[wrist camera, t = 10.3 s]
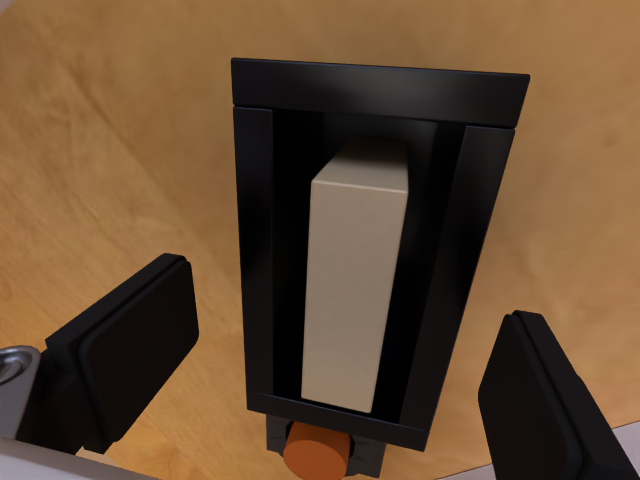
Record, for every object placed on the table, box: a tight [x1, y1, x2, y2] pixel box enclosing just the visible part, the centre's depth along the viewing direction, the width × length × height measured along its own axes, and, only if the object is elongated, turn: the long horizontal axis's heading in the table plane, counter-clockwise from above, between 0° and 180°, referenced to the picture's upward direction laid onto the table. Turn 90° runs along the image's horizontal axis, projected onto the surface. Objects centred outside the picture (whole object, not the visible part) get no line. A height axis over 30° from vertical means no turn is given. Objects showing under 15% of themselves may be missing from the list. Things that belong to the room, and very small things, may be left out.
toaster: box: [231, 57, 530, 452], centre depth 15 cm, size 13×7×8 cm, turn 177°
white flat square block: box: [301, 136, 408, 413], centre depth 14 cm, size 2×8×8 cm, turn 177°
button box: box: [266, 414, 386, 478], centre depth 22 cm, size 10×8×4 cm
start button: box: [283, 421, 351, 480], centre depth 20 cm, size 4×4×2 cm
